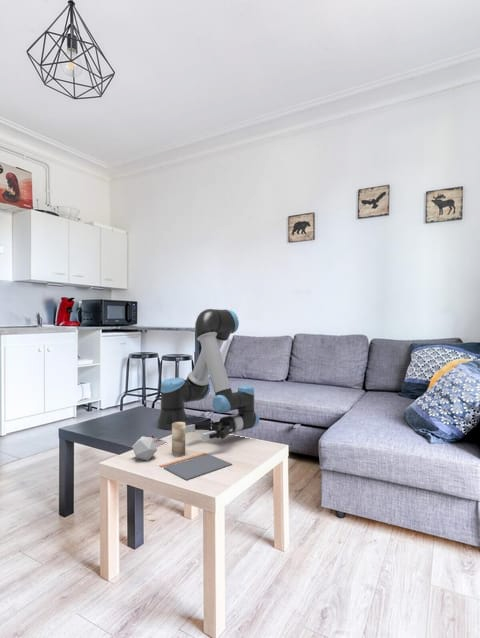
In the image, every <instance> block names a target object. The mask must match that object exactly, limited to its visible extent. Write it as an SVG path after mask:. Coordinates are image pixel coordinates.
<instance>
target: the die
mask: <svg viewBox="0 0 480 638" xmlns="http://www.w3.org/2000/svg"><path fill="white" fill-rule="evenodd" d="M153 438H154V437H153ZM153 438H150V436H149V437H147V436H141V437H140V438H138V439H137V441H136V442H135V443H133V445H132V450H133V452H134V454H135V457H136V459H137V460H141V459H142V461H149V460H150V459H151V458H152V457H153V456H154V455H155V454H156V453H157V451H158V447H157V448H156V445H155V443H154V440H153Z"/></svg>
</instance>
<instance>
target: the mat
mask: <svg viewBox="0 0 480 638" xmlns="http://www.w3.org/2000/svg"><path fill="white" fill-rule="evenodd" d="M232 465H233V463H231V462H228V461H227V460H224V459H222V458H219V457H216V456H214V455H212V454H209V453H206V454H205V455H202V456H198V457H195V458H192V459H188V460H185V461H182V462H178V463H175V464H172V465H168V466H165V467H163V470H165V471H168V472H170V473H172V474H173V475H175V476H177V477H179V478H181V479H183V480H184V481H186V482H187V481H190V480H193V479H195V478H198V477H201V476H204V475H208V474H210V473H212V472H215V471H218V470H221V469H224V468H226V467H227V468H228V467H230V466H232Z"/></svg>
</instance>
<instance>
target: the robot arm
mask: <svg viewBox="0 0 480 638" xmlns="http://www.w3.org/2000/svg"><path fill="white" fill-rule="evenodd" d="M239 322H240V320H239V318H238V315H237V314H236V313H235V311H233V310H231V309H230V310H229V309H213V308H207V309H205V310H202V311H201V312H200V313H199V315H197V317H196V321H195V324H194V330H195V331H194V332H195V336H196V340H197V341H199V342H200V346H201V350H200V353H199V355H198V357H197V360H196V363H195V365H194V367H193V370H192V371H190V372H189V373H188V375H187V378H186V379H184V377H172V378H167V379H164V380H163V381H162V382H161V384H160V413H159V415H158V419H157V423H156V427H157V428H159V429H162V430H172V423H174V422H185V434H188V433H192V432H194V433H195V431H208V432H205V433H201V435H200V436H201V440H200V441H201V442H206V441H211V440H213V439H219V438H220V439H221V440H222V439H224V438H226V437H227V436H229V435H230V434H233V433H234V434H237V433H238V432H241V431H244V430H250V429H252V428H255V427H256V426H258V425H259V423H260V416H259V414H258V412H257V411H256V410H255V389H254V387H253V386H252V385H240V386H238V387H237V391H236V392H233V390H232V387H231V384H230V383H231V382H230V381H229V377H228V374H227V370H226V367H225V364H224V363H225V362H224V360H223V356H222V353H221V350H222V349H221V348H222V346H223V344H224V342H226V341H228V340H229V338H230V335H231V334H234V333H236V332H237V331H238V329H239V325H240V324H239ZM209 378H210V379H209ZM210 381H211V384H210ZM211 385H212V388H213V392H214V397H213V398H212V401H211V402H212V403H211V404H212V408H213V410H214V411H215V412H216V413H217V414H223V413H228V412H232V411H235V410H237V413H235V414H230V415H227V416H226V415H225V416H222V417H220V419H219V421H214V420H209V421H196V422H193V421H192V422H191V424H190V425H189V423H188V418H187V414H186V412H185V403H190V402H196V401H197V402H198V401H201V400H204V399H206V398H207V397H208V395H209V394H210V392H211V388H210V387H211Z"/></svg>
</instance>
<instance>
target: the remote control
mask: <svg viewBox="0 0 480 638" xmlns="http://www.w3.org/2000/svg"><path fill="white" fill-rule="evenodd" d="M149 437H150V436H149ZM150 438H153V440H154V443H155V445H156V447H157V448H159V447H158V446H160V445H163V444H165V443H167V444H168V442H167V441H166V440H164V439H160V438H156V437H154V435H151V437H150ZM165 445H166V444H165ZM163 446H164V445H163ZM160 447H161V446H160Z"/></svg>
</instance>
